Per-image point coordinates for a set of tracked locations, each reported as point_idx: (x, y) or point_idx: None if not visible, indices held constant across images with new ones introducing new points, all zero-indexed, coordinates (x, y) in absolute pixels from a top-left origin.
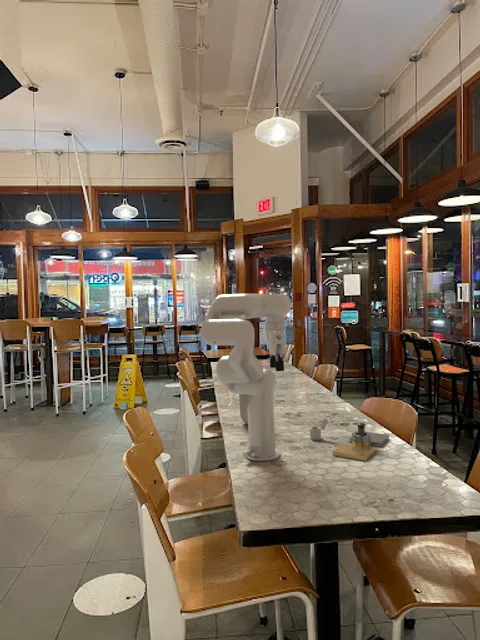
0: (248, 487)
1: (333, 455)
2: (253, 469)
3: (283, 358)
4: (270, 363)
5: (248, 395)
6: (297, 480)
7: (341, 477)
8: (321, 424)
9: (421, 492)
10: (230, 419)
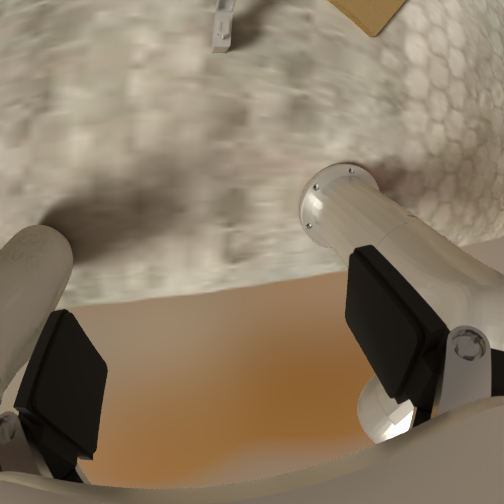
0: (451, 232)
1: (370, 35)
2: None
3: (490, 348)
4: (95, 403)
5: (42, 314)
6: (457, 155)
7: (462, 79)
8: (217, 4)
9: (495, 14)
10: None
